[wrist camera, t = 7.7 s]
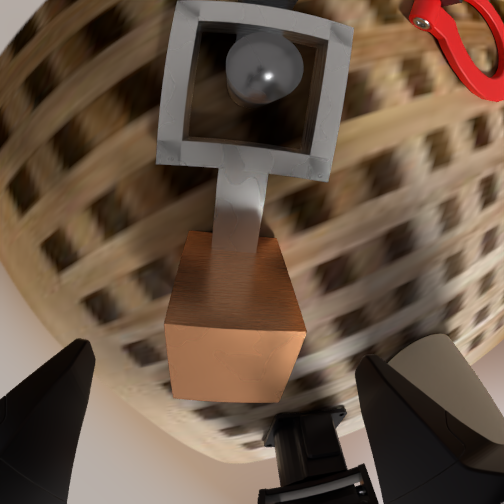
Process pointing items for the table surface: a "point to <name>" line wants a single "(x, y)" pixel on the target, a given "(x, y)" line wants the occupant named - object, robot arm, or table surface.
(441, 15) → the tow hook
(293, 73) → the hook
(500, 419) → the travel mug
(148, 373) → the table surface
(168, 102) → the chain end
